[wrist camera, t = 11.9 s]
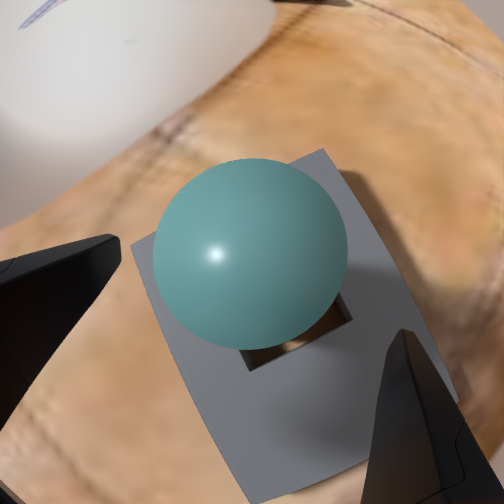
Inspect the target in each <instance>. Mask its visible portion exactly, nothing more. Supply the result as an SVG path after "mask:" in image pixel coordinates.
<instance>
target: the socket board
mask: <svg viewBox="0 0 504 504" xmlns="http://www.w3.org/2000/svg"><path fill="white" fill-rule="evenodd" d="M288 165H290V166H292V167H294V168H297V169H299V170H301V171H302V172H304V173H305V174H307V175H309V176H310V177H311V178H313V179H314V180H315V181H316V182H317V183H319V184H320V185H321V186H322V188H323V189H324V190H325V191H326V192H327V193H328V194H329V196H330V197H331V199H332V200H333V201H334V203H335V205H336V207H337V209H338V210H339V212H340V215H341V217H342V220H343V223H344V226H345V230H346V235H347V244H348V258H347V267H346V271H345V276H344V279H343V282H342V285H341V288H340V290H339V292H338V294H337V296H336V298H335V301H336V302H337V304H338V306H339V308H340V310H341V312H342V314H343V316H344V318H345V320H346V322H345V323H343V324H341V325H339V326H337V327H336V328H334V329H332V330H330V331H328V332H326V333H324V334H322V335H320V336H319V337H317V338H315V339H313V340H311V341H309V342H307V343H305V344H303V345H301V346H299V347H297V348H295V349H293V350H291V351H289V352H287V353H285V354H283V355H281V356H279V357H277V358H274V359H272V360H270V361H268V362H266V363H264V364H262V365H260V366H257V367H255V366H254V364H253V361H252V359H251V357H250V355H249V353H248V351H247V350H238V349H231V348H225V347H222V346H218V345H215V344H212V343H210V342H208V341H205V340H203V339H201V338H199V337H198V336H196V335H195V334H193V333H192V332H190V331H189V330H188V329H186V328H185V327H184V326H183V325H182V324H181V323H180V322H179V321H178V320H177V319H176V318H175V317H174V316H173V314H172V313H171V312H170V310H169V309H168V307H167V306H166V304H165V303H164V301H163V299H162V296H161V294H160V292H159V289H158V286H157V283H156V280H155V275H154V269H153V246H154V240H155V235H156V231H155V232H153V233H152V234H150V235H148V236H146V237H144V238H143V239H141V240H139V241H137V242H135V243H134V244H132V245H130V247H131V250H132V253H133V256H134V259H135V262H136V265H137V268H138V270H139V273H140V276H141V279H142V281H143V284H144V287H145V289H146V292H147V295H148V297H149V300H150V303H151V305H152V308H153V310H154V313H155V315H156V318H157V320H158V323H159V325H160V328H161V330H162V332H163V335H164V337H165V340H166V342H167V344H168V347H169V349H170V351H171V354H172V356H173V358H174V360H175V363H176V365H177V367H178V369H179V372H180V374H181V376H182V378H183V380H184V382H185V384H186V387H187V389H188V391H189V393H190V395H191V397H192V399H193V401H194V403H195V405H196V407H197V409H198V411H199V413H200V415H201V417H202V419H203V421H204V423H205V425H206V427H207V429H208V431H209V433H210V435H211V437H212V438H213V440H214V442H215V444H216V446H217V448H218V450H219V451H220V453H221V455H222V457H223V459H224V460H225V462H226V464H227V466H228V467H229V469H230V471H231V473H232V474H233V476H234V478H235V479H236V481H237V483H238V484H239V486H240V488H241V489H242V491H243V493H244V494H245V496H246V498H247V499H248V501H249V502H250V504H259V503H262V502H265V501H269V500H272V499H275V498H278V497H280V496H283V495H286V494H289V493H292V492H294V491H297V490H300V489H302V488H305V487H307V486H310V485H312V484H315V483H317V482H320V481H322V480H324V479H327V478H329V477H331V476H333V475H336V474H338V473H340V472H342V471H344V470H346V469H349V468H351V467H353V466H355V465H357V464H359V463H361V462H363V461H365V460H367V459H369V456H370V449H371V443H372V436H373V429H374V421H375V412H376V404H377V398H378V393H379V388H380V383H381V378H382V373H383V368H384V363H385V358H386V353H387V350H388V348H389V346H390V344H391V343H392V341H393V339H394V338H395V336H396V334H397V332H398V331H399V330H400V329H402V328H404V329H407V330H411V331H413V332H414V333H415V334H416V336H417V337H418V339H419V341H420V342H421V344H422V345H423V347H424V349H425V350H426V352H427V354H428V355H429V357H430V359H431V360H432V362H433V364H434V365H435V367H436V369H437V370H438V372H439V374H440V376H441V377H442V379H443V381H444V383H445V384H446V386H447V388H448V390H449V391H450V393H451V395H452V397H453V399H454V400H455V402H456V404H457V403H458V402H459V399H458V396H457V394H456V391H455V389H454V386H453V384H452V381H451V379H450V376H449V374H448V371H447V369H446V367H445V364H444V362H443V360H442V357H441V355H440V353H439V351H438V348H437V346H436V344H435V342H434V340H433V337H432V335H431V333H430V331H429V329H428V327H427V325H426V323H425V320H424V318H423V316H422V314H421V312H420V310H419V308H418V306H417V304H416V302H415V300H414V298H413V296H412V294H411V292H410V290H409V289H408V287H407V285H406V283H405V281H404V279H403V277H402V275H401V273H400V272H399V270H398V268H397V266H396V264H395V262H394V261H393V259H392V257H391V255H390V254H389V252H388V250H387V248H386V246H385V245H384V243H383V241H382V240H381V238H380V236H379V234H378V233H377V231H376V229H375V228H374V226H373V224H372V223H371V221H370V219H369V218H368V216H367V214H366V213H365V211H364V210H363V208H362V206H361V205H360V203H359V202H358V200H357V198H356V197H355V195H354V194H353V192H352V191H351V189H350V187H349V186H348V184H347V183H346V181H345V180H344V178H343V177H342V175H341V174H340V172H339V171H338V169H337V168H336V166H335V165H334V163H333V162H332V160H331V159H330V158H329V156H328V155H327V153H326V152H325V150H324V149H323V148H322V149H319V150H317V151H315V152H313V153H311V154H308V155H306V156H304V157H302V158H300V159H298V160H295V161H293V162H291V163H289V164H288Z"/></svg>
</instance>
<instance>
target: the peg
mask: <svg viewBox="0 0 504 504" xmlns="http://www.w3.org/2000/svg"><path fill="white" fill-rule="evenodd" d="M347 258H348V244H347V235H346V230H345V226H344V223H343V220H342V217H341V215H340V212H339V210H338V209H337V207H336V205H335V203H334V201H333V200H332V199H331V197H330V196H329V194H328V193H327V192H326V191H325V190H324V189H323V188H322V186H321V185H320V184H319V183H317V182H316V181H315V180H314V179H313V178H311V177H310V176H309V175H307V174H305V173H304V172H302V171H301V170H299V169H297V168H294V167H292V166H290V165H288V164H284V163H281V162H278V161H273V160H267V159H254V158H253V159H240V160H234V161H229V162H226V163H223V164H220V165H217V166H215V167H212V168H210V169H208V170H206V171H204V172H203V173H201V174H199V175H198V176H196V177H195V178H194V179H192V180H191V181H190V182H188V183H187V184H186V185H185V186H184V187H183V188H182V189H181V190H180V191H179V192H178V193H177V194H176V196H175V197H174V198H173V199H172V201H171V202H170V204H169V205H168V207H167V208H166V210H165V212H164V214H163V216H162V218H161V220H160V223H159V225H158V228H157V231H156V235H155V240H154V246H153V269H154V275H155V280H156V283H157V286H158V289H159V292H160V294H161V296H162V299H163V301H164V303H165V304H166V306H167V307H168V309H169V310H170V312H171V313H172V314H173V316H174V317H175V318H176V319H177V320H178V321H179V322H180V323H181V324H182V325H183V326H184V327H185V328H186V329H188V330H189V331H190V332H192V333H193V334H195V335H196V336H198V337H199V338H201V339H203V340H205V341H208V342H210V343H212V344H215V345H218V346H222V347H225V348H231V349H238V350H255V349H263V348H268V347H272V346H276V345H280V344H282V343H284V342H287V341H289V340H292V339H293V338H295V337H297V336H299V335H300V334H302V333H304V332H305V331H306V330H308V329H309V328H310V327H311V326H313V325H314V324H315V323H316V322H317V321H318V320H319V319H320V318H321V317H322V316H323V315H324V314H325V313H326V311H327V310H328V309H329V307H330V306H331V304H332V303H333V301H334V300H335V298H336V296H337V294H338V292H339V290H340V288H341V285H342V282H343V279H344V276H345V271H346V267H347Z"/></svg>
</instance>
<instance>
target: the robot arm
mask: <svg viewBox="0 0 504 504" xmlns="http://www.w3.org/2000/svg"><path fill="white" fill-rule="evenodd" d="M120 263H121V247H120V239H119V238H118V237H117V236H115V235H112V234H104V235H100V236H95V237H91V238H87V239H83V240H79V241H75V242H71V243H67V244H63V245H60V246H56V247H52V248H48V249H44V250H41V251H37V252H33V253H30V254H26V255H22V256H19V257H17V258H11V259H8V260H4V261H0V431H1V430H2V428H3V427H4V425H5V424H6V422H7V420H8V419H9V417H10V416H11V414H12V413H13V411H14V410H15V408H16V407H17V405H18V404H19V402H20V401H21V399H22V398H23V396H24V395H25V393H26V392H27V390H28V389H29V387H30V386H31V384H32V383H33V381H34V380H35V379H36V377H37V376H38V374H39V373H40V372H41V370H42V369H43V367H44V366H45V365H46V363H47V362H48V361H49V359H50V358H51V356H52V355H53V354H54V352H55V351H56V350H57V348H58V347H59V346H60V344H61V343H62V342H63V340H64V339H65V338H66V337H67V335H68V334H69V333H70V331H71V330H72V329H73V327H74V326H75V325H76V324H77V322H78V321H79V320H80V319H81V317H82V316H83V315H84V314H85V312H86V311H87V310H88V309H89V307H90V306H91V305H92V304H93V302H94V301H95V300H96V298H97V297H98V296H99V294H100V293H101V291H102V290H103V288H104V287H105V285H106V284H107V282H108V281H109V279H110V278H111V277H112V275H113V274H114V272H115V271H116V269H117V268H118V266H119V265H120ZM464 421H465V419H464V417H463V415H462V413H461V412H460V410H459V408H458V406H457V404H456V402H455V400H454V399H453V397H452V395H451V393H450V391H449V390H448V388H447V386H446V384H445V383H444V381H443V379H442V377H441V376H440V374H439V372H438V370H437V369H436V367H435V365H434V364H433V362H432V360H431V359H430V357H429V355H428V354H427V352H426V350H425V349H424V347H423V345H422V344H421V342H420V341H419V339H418V337H417V336H416V334H415V333H414V332H413V331H411V330H407V329H404V328H402V329H400V330H399V331H398V332H397V334H396V336H395V338H394V339H393V341H392V343H391V344H390V346H389V348H388V350H387V353H386V358H385V363H384V368H383V373H382V378H381V383H380V388H379V393H378V398H377V404H376V412H375V421H374V429H373V436H372V443H371V449H370V456H369V462H368V468H367V473H366V479H365V484H364V489H363V494H362V499H361V503H360V504H504V489H503V487H502V485H501V483H500V482H499V480H498V478H497V476H496V475H495V473H494V471H493V469H492V468H491V466H490V464H489V463H488V461H487V459H486V458H485V456H484V454H483V452H482V451H481V449H480V447H479V446H478V444H477V442H476V440H475V438H474V436H473V434H472V432H471V430H470V429H469V427H468V425H467V423H466V422H464ZM0 504H26V503H25V502H24V501H22V500H21V499H20V498H19V497H18V496H17V495H16V494H15V493H14V492H13V491H12V490H10V489H9V488H8V487H7V486H6V485H5V484H4V483H3V482H2V481H1V480H0Z"/></svg>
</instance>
